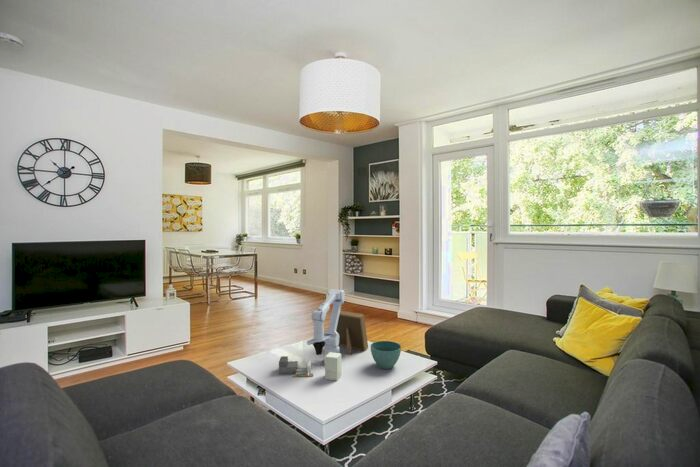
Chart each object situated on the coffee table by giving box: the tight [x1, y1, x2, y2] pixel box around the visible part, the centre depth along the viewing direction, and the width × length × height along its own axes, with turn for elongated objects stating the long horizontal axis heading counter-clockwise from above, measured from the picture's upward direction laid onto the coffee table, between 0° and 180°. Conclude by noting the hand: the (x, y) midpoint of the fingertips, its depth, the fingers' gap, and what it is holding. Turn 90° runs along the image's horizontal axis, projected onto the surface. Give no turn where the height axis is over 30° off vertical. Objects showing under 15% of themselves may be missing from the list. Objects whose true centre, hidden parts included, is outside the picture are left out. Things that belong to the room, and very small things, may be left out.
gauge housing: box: [278, 355, 299, 375], centre depth 202 cm, size 10×8×7 cm
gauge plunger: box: [297, 360, 312, 376], centre depth 200 cm, size 11×12×4 cm
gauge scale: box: [292, 372, 314, 378], centre depth 196 cm, size 11×4×1 cm, turn 92°
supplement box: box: [324, 352, 343, 381], centre depth 194 cm, size 7×7×13 cm
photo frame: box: [336, 310, 369, 355], centre depth 236 cm, size 15×22×25 cm
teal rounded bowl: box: [370, 340, 402, 370], centre depth 209 cm, size 18×18×12 cm
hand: (318, 354), depth 202 cm, fingers closed
